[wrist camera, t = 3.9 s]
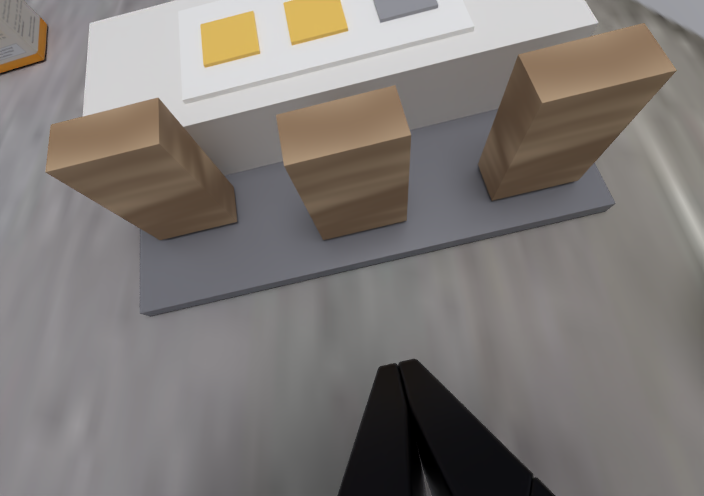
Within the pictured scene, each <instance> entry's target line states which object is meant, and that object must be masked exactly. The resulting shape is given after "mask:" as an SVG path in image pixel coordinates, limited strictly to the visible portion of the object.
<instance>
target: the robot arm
mask: <svg viewBox="0 0 704 496" xmlns="http://www.w3.org/2000/svg"><path fill="white" fill-rule="evenodd" d="M398 367H399V368H398ZM399 371H400V372H399ZM418 451H419V452H418ZM419 455H420V456H419ZM420 459H421V461H420ZM421 463H422V466H421ZM422 467H423V470H424V473H425V476H426V479H427V482H428V485H429V488H430V490H431V493H432V496H555V495H554V494H553V493H552V492H551V491H550V490H549V489H548V488H547V487H546V486H545V485H544V484H543V483H542V482H541V481H540V480H539V479H538V478H536V477H535V478H534V476H533V473H532V472H531V471H530V470H529V469H528V468H527V467H526V466H525V465H524V464H523V463H522V462H521V461H520V460H518V459H517V458H516V457H515V456H514V455H513V454H512V453H511V452H510V451H509V450H508V449H507V448H506V447H505V446H504V445H503V444H502V443H501V442H500V441H499V440H498V439H497V438H496V437H495V436H494V435H493V434H492V433H491V432H490V431H489V430H488V429H487V428H486V427H485V426H484V425H483V424H482V423H481V422H480V421H479V420H478V419H477V418H476V417H475V416H474V415H473V414H472V413H471V412H470V411H469V410H468V409H467V408H466V407H465V406H464V405H463V404H462V403H461V402H460V401H459V400H458V399H457V398H456V397H455V396H454V395H453V394H452V393H451V392H450V391H448V390H447V389H446V388H445V387H444V386H443V385H442V384H441V383H440V382H439V381H438V380H437V379H436V378H435V377H434V376H433V375H432V374H431V373H430V372H429V371H428V370H427V369H426V368H425V367H424V366H423V365H422V364H421V363H420V362H419V361H418V360H416V359H411V360H406V361H402V362H399V364H398V365H397V364H396V363H393V364H388V365H384V366H380V367H379V368H378V371H377V374H376V377H375V380H374V383H373V386H372V390H371V393H370V396H369V399H368V402H367V405H366V408H365V411H364V414H363V418H362V421H361V424H360V427H359V430H358V433H357V436H356V439H355V442H354V446H353V449H352V452H351V455H350V458H349V461H348V464H347V467H346V470H345V474H344V477H343V480H342V483H341V486H340V489H339V492H338V495H337V496H426V491H425V483H424V477H423V470H422Z"/></svg>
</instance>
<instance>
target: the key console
mask: <svg viewBox="0 0 704 496" xmlns="http://www.w3.org/2000/svg"><path fill="white" fill-rule="evenodd" d="M597 25H598V21H597V19H596V18H595V16H594V15H593V13H592V11H591V10H590V8H589V7H588V5H587V3H586V2H585V0H175V1H172V2H168V3H164V4H160V5H156V6H153V7H149V8H145V9H141V10H138V11H134V12H130V13H126V14H122V15H119V16H115V17H111V18H107V19H104V20H100V21H96V22H92V23H90V27H89V40H88V54H87V67H86V81H85V94H84V107H83V116H87V115H91V114H95V113H99V112H103V111H107V110H111V109H115V108H119V107H122V106H126V105H130V104H134V103H138V102H142V101H146V100H150V99H154V98H159V99H160V100H161V101H162V102H163V103H164V105H165V106H166V107H167V108H168V109H169V111H170V112H171V113H172V114H173V115H174V117H175V118H176V119H177V120H178V121H179V122H180V124H181V125H182V126H183V127H184V128H185V130H186V131H187V132H188V133H189V134H190V136H191V137H192V138H193V139H194V140H195V142H196V143H197V144H198V145H199V146H200V147H201V149H202V150H203V151H204V152H205V153H206V155H207V156H208V157H209V158H210V159H211V161H212V162H213V163H214V164H215V165H216V166H217V168H218V169H219V170H220V171H221V172H222V174H223V175H224V176H225V177H226V178H227V180H228V181H229V182H230V183H231V184H232V185H233V187H234V194H235V203H236V213H237V222H235V223H230V224H226V225H222V226H218V227H214V228H209V229H205V230H201V231H197V232H193V233H188V234H184V235H180V236H176V237H172V238H168V239H163V240H159V239H157V238H155V237H153V236H152V235H150V234H148V233H147V232H145V231H143V230H142V229H140V314H144V315H148V316H153V315H158V314H162V313H166V312H171V311H175V310H179V309H184V308H188V307H192V306H197V305H201V304H205V303H210V302H214V301H218V300H223V299H227V298H231V297H236V296H240V295H244V294H249V293H253V292H257V291H262V290H266V289H270V288H275V287H279V286H283V285H288V284H292V283H296V282H301V281H305V280H309V279H314V278H318V277H322V276H327V275H331V274H335V273H340V272H344V271H348V270H353V269H357V268H362V267H366V266H370V265H375V264H379V263H383V262H388V261H392V260H396V259H401V258H405V257H409V256H414V255H418V254H422V253H427V252H431V251H435V250H440V249H444V248H448V247H453V246H457V245H461V244H466V243H470V242H474V241H479V240H483V239H487V238H492V237H496V236H500V235H505V234H509V233H513V232H518V231H522V230H526V229H531V228H535V227H539V226H544V225H548V224H552V223H557V222H561V221H565V220H570V219H574V218H578V217H583V216H587V215H591V214H596V213H600V212H604V211H607V210H608V209H609V208H610V207H612V206H613V205H614V204H615V201H614V199H613V197H612V196H611V194H610V192H609V190H608V188H607V186H606V184H605V182H604V180H603V178H602V176H601V174H600V172H599V170H598V169H597V167H596V165H595V163H593V165H592V166H591V167H590V168H589V169H588V170H587V171H586V172H585V174H584V175H583V176H582V177H581V178H580V179H579V180H578V181H574V182H569V183H565V184H561V185H557V186H552V187H548V188H544V189H540V190H535V191H531V192H527V193H523V194H518V195H514V196H510V197H506V198H501V199H497V200H493V201H492V200H491V197H490V195H489V192H488V190H487V187H486V184H485V182H484V179H483V177H482V174H481V171H480V169H479V166H478V163H479V160H480V157H481V155H482V152H483V149H484V147H485V144H486V141H487V138H488V136H489V133H490V130H491V127H492V125H493V122H494V119H495V117H496V114H497V111H498V108H499V106H500V103H501V100H502V97H503V95H504V92H505V89H506V87H507V84H508V81H509V78H510V76H511V73H512V70H513V67H514V65H515V62H516V59H517V57H518V54H522V53H526V52H530V51H534V50H538V49H542V48H546V47H550V46H554V45H558V44H562V43H566V42H570V41H574V40H578V39H582V38H586V37H590V36H591V35H592V34H593V32H594V30H595V28H596V26H597ZM394 85H396V88H397V91H398V95H399V98H400V101H401V104H402V107H403V110H404V114H405V117H406V120H407V123H408V126H409V129H410V132H411V149H410V168H409V187H408V205H407V221H403V222H399V223H394V224H390V225H386V226H382V227H377V228H373V229H369V230H365V231H360V232H356V233H352V234H348V235H343V236H339V237H335V238H330V239H326V240H323V239H322V237H321V235H320V233H319V231H318V229H317V228H316V226H315V224H314V222H313V220H312V218H311V216H310V214H309V212H308V210H307V209H306V207H305V205H304V203H303V201H302V199H301V197H300V195H299V193H298V192H297V190H296V188H295V186H294V184H293V182H292V180H291V178H290V176H289V174H288V173H287V171H286V169H285V167H284V163H283V157H282V150H281V144H280V138H279V132H278V125H277V119H276V115H277V114H281V113H285V112H289V111H293V110H297V109H301V108H305V107H309V106H313V105H317V104H321V103H325V102H329V101H333V100H337V99H341V98H345V97H349V96H353V95H357V94H361V93H365V92H369V91H373V90H377V89H381V88H385V87H390V86H394Z"/></svg>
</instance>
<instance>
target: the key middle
mask: <svg viewBox="0 0 704 496" xmlns="http://www.w3.org/2000/svg"><path fill="white" fill-rule="evenodd" d="M276 119H277V125H278V132H279V138H280V144H281V150H282V157H283V163H284V167H285V169H286V171H287V173H288V174H289V176H290V178H291V180H292V182H293V184H294V186H295V188H296V190H297V192H298V193H299V195H300V197H301V199H302V201H303V203H304V205H305V207H306V209H307V210H308V212H309V214H310V216H311V218H312V220H313V222H314V224H315V226H316V228H317V229H318V231H319V233H320V235H321V237H322V239H323V240H326V239H330V238H335V237H339V236H343V235H348V234H352V233H356V232H360V231H365V230H369V229H373V228H377V227H382V226H386V225H390V224H394V223H399V222H403V221H407V205H408V187H409V168H410V149H411V132H410V129H409V126H408V123H407V120H406V117H405V114H404V110H403V107H402V104H401V101H400V98H399V95H398V91H397V88H396V85H394V86H390V87H385V88H381V89H377V90H373V91H369V92H365V93H361V94H357V95H353V96H349V97H345V98H341V99H337V100H333V101H329V102H325V103H321V104H317V105H313V106H309V107H305V108H301V109H297V110H293V111H289V112H285V113H281V114H277V115H276Z"/></svg>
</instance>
